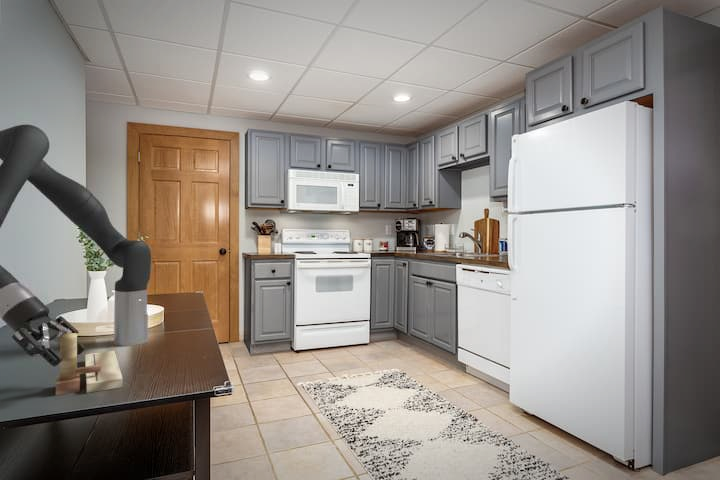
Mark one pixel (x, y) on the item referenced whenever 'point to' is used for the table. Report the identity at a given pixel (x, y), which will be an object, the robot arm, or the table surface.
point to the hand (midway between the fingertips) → (71, 357)
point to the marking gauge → (71, 366)
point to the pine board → (103, 372)
